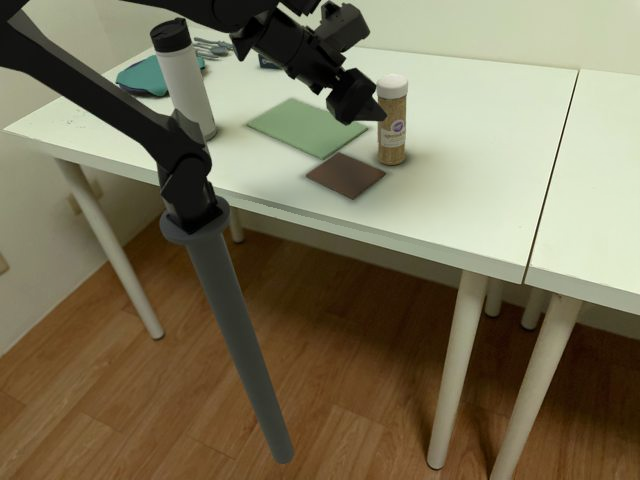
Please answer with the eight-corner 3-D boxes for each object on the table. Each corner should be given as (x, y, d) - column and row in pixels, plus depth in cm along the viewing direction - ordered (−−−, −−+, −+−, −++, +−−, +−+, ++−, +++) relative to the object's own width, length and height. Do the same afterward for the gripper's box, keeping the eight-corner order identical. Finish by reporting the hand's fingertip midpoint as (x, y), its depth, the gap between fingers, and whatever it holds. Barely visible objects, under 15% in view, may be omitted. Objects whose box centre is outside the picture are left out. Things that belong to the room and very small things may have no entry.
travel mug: (225, 128, 89) (196, 18, 75) (201, 146, 85) (166, 33, 71) (201, 122, 92) (168, 15, 78) (177, 139, 88) (139, 29, 74)
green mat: (322, 160, 78) (322, 158, 78) (246, 125, 89) (246, 123, 89) (368, 128, 84) (368, 126, 84) (291, 100, 95) (291, 98, 95)
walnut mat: (353, 199, 70) (352, 197, 69) (305, 176, 75) (305, 174, 75) (386, 174, 73) (386, 172, 73) (338, 153, 79) (338, 151, 79)
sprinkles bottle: (390, 169, 74) (390, 89, 65) (371, 157, 77) (369, 79, 68) (411, 158, 76) (415, 79, 67) (392, 147, 79) (393, 69, 70)
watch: (256, 71, 107) (246, 21, 99) (271, 57, 112) (263, 8, 104) (278, 73, 105) (270, 22, 97) (292, 58, 110) (285, 8, 103)
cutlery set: (102, 89, 108) (98, 79, 106) (193, 41, 125) (190, 32, 123) (160, 105, 99) (156, 95, 97) (250, 51, 116) (248, 41, 114)
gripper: (357, 9, 50) (441, 82, 59) (303, -29, 63) (380, 36, 72) (297, 96, 54) (385, 152, 63) (258, 43, 67) (336, 95, 77)
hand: (371, 104), depth 69 cm, fingers open, 9 cm apart
